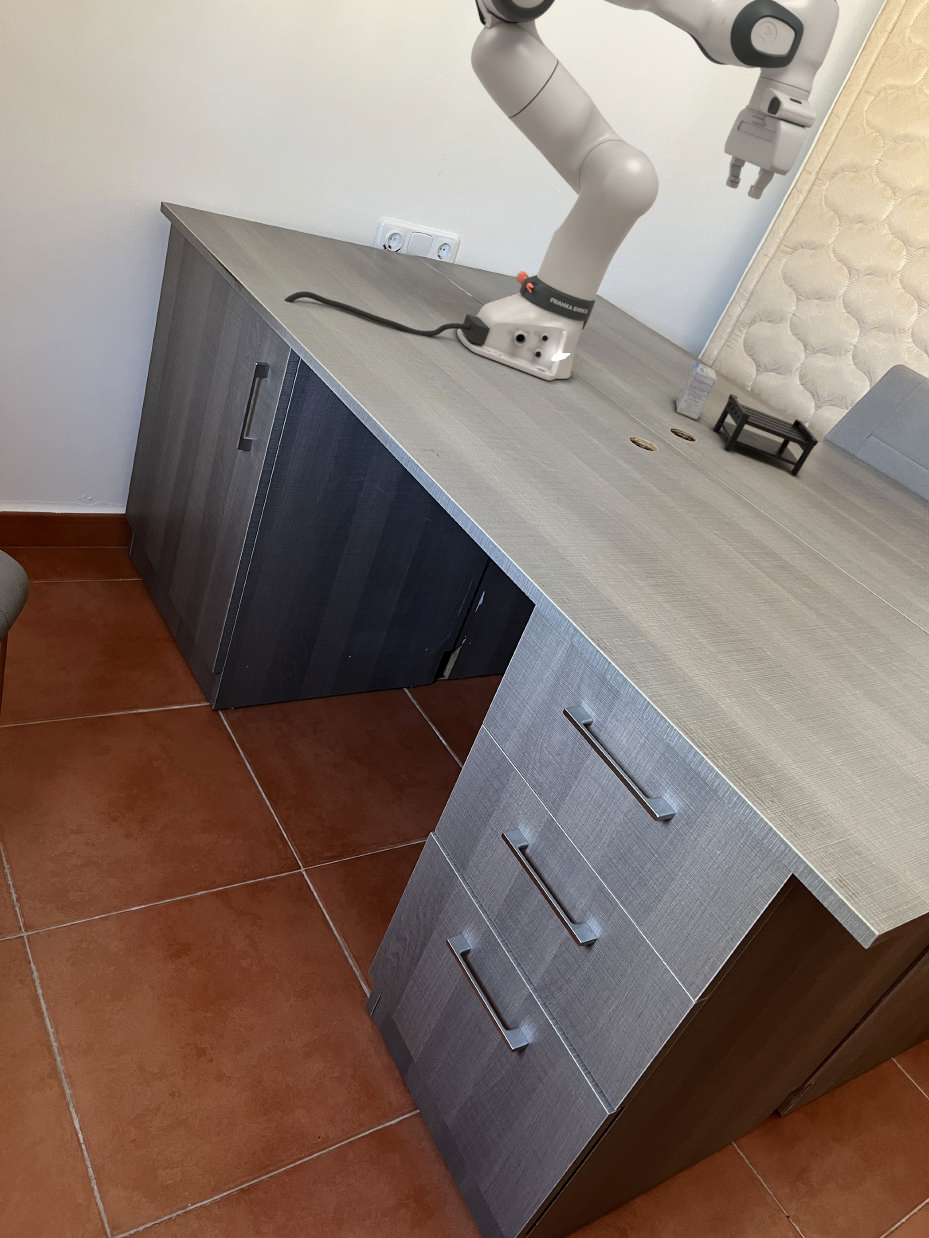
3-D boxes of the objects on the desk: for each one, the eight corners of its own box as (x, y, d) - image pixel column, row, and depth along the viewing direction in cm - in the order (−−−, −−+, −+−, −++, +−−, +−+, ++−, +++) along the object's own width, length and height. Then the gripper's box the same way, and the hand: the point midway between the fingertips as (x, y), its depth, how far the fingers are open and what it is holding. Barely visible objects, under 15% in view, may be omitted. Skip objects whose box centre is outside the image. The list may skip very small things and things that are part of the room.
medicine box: (696, 421, 180) (718, 379, 176) (675, 412, 180) (696, 370, 176) (695, 410, 187) (715, 370, 183) (674, 401, 187) (695, 361, 183)
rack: (724, 449, 170) (744, 413, 167) (711, 428, 180) (730, 393, 176) (797, 477, 173) (819, 442, 169) (781, 455, 182) (801, 421, 179)
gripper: (735, 92, 162) (703, 176, 169) (787, 106, 145) (750, 199, 152) (766, 102, 163) (733, 186, 171) (821, 118, 147) (782, 209, 154)
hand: (741, 192), depth 161 cm, fingers open, 8 cm apart
